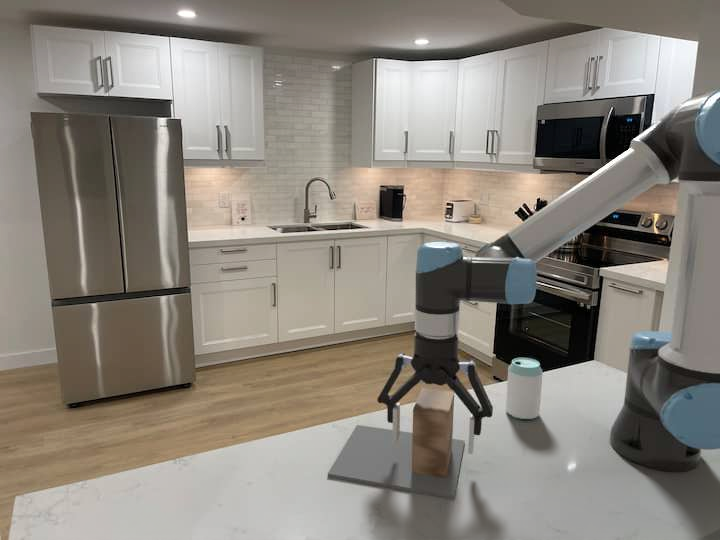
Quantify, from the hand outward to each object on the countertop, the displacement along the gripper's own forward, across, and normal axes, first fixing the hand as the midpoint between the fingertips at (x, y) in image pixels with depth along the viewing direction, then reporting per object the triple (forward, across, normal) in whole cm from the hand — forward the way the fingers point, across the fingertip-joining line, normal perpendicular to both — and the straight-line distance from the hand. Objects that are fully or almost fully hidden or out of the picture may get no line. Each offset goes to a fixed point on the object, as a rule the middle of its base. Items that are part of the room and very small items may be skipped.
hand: (432, 444), depth 95 cm
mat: (+4, +6, 0) cm, 7 cm away
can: (+4, -16, -25) cm, 30 cm away
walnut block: (+3, 0, 0) cm, 3 cm away
